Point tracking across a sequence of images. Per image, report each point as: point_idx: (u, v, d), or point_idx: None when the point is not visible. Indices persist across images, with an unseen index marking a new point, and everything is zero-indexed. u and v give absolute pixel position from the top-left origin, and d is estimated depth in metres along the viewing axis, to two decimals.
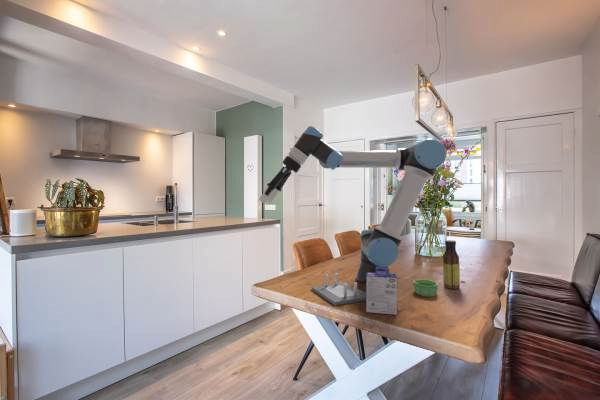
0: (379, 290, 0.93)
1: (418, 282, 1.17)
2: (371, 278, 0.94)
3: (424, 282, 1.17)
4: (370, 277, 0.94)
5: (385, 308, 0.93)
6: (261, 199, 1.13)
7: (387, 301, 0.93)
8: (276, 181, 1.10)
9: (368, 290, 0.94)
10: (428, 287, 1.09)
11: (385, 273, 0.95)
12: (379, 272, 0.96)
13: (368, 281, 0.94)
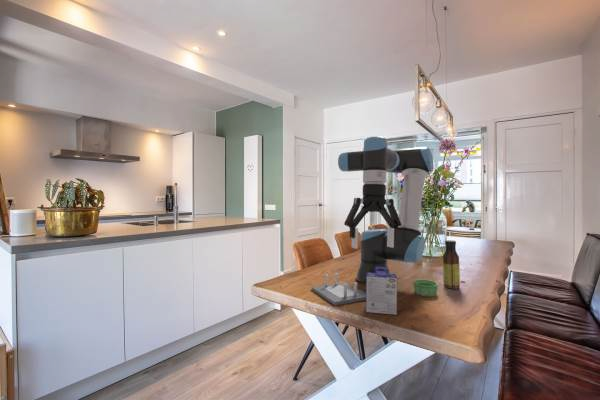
0: (379, 290, 0.93)
1: (418, 282, 1.17)
2: (371, 278, 0.94)
3: (424, 282, 1.17)
4: (370, 277, 0.94)
5: (385, 308, 0.93)
6: None
7: (387, 301, 0.93)
8: None
9: (368, 290, 0.94)
10: (428, 287, 1.09)
11: (385, 273, 0.95)
12: (379, 272, 0.96)
13: (368, 281, 0.94)
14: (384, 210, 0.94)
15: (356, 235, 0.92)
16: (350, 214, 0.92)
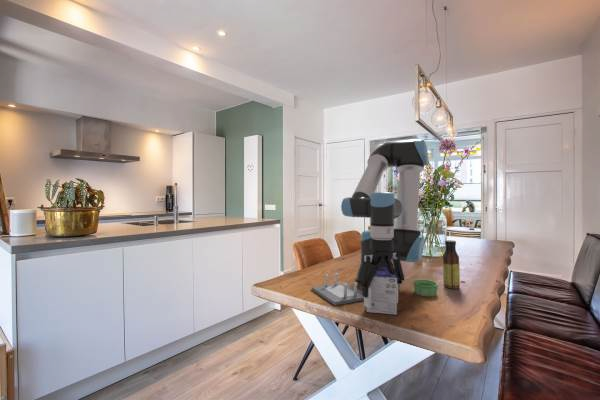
0: (379, 289, 0.93)
1: (418, 282, 1.17)
2: None
3: (424, 282, 1.17)
4: None
5: (385, 308, 0.93)
6: None
7: (387, 300, 0.93)
8: None
9: None
10: (428, 287, 1.09)
11: (385, 273, 0.95)
12: (379, 272, 0.96)
13: None
14: (391, 265, 0.95)
15: (369, 295, 0.92)
16: (362, 273, 0.92)
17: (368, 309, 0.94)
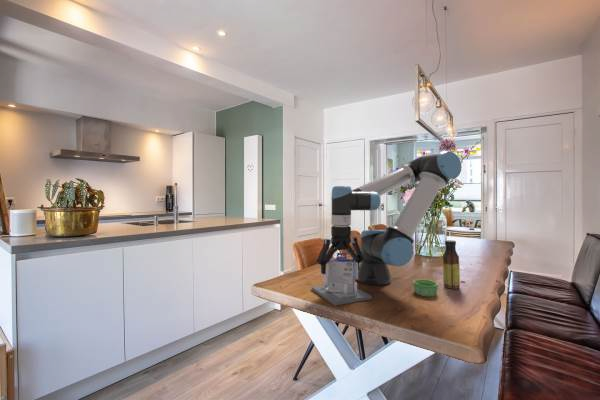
0: (339, 272, 1.09)
1: (418, 282, 1.17)
2: (332, 262, 1.09)
3: (424, 282, 1.17)
4: (331, 261, 1.10)
5: (343, 288, 1.08)
6: None
7: (345, 281, 1.08)
8: None
9: (329, 273, 1.10)
10: (428, 287, 1.09)
11: (344, 258, 1.11)
12: (340, 257, 1.12)
13: (329, 265, 1.10)
14: (349, 248, 1.11)
15: (326, 272, 1.07)
16: (321, 254, 1.07)
17: (329, 289, 1.10)
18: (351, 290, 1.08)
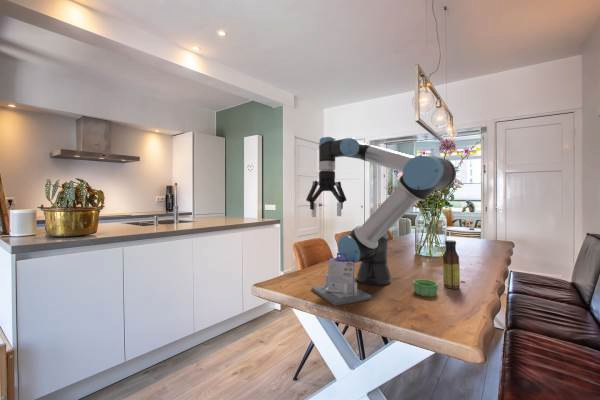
0: (339, 272, 1.09)
1: (418, 282, 1.17)
2: (332, 262, 1.09)
3: (424, 282, 1.17)
4: (331, 261, 1.10)
5: (343, 288, 1.08)
6: None
7: (345, 281, 1.08)
8: None
9: (329, 273, 1.10)
10: (428, 287, 1.09)
11: (344, 258, 1.11)
12: (340, 257, 1.12)
13: (329, 265, 1.10)
14: (334, 189, 1.33)
15: (314, 207, 1.29)
16: (310, 192, 1.29)
17: (329, 289, 1.10)
18: (351, 290, 1.08)
